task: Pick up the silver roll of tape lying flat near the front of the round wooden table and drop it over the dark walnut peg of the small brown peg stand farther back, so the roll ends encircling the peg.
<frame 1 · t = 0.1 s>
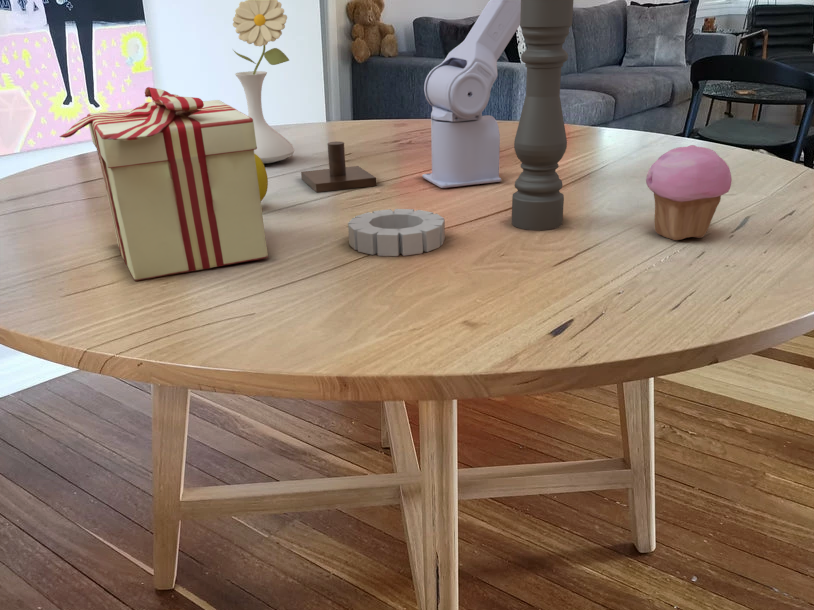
tape: (397, 241, 95), on the table
cupcake: (680, 238, 94), on the table
lemon: (250, 211, 110), on the table
brown peg stand: (338, 182, 122), on the table
candle holder: (536, 224, 100), on the table
flower in vase: (265, 163, 137), on the table
gift box: (179, 258, 92), on the table
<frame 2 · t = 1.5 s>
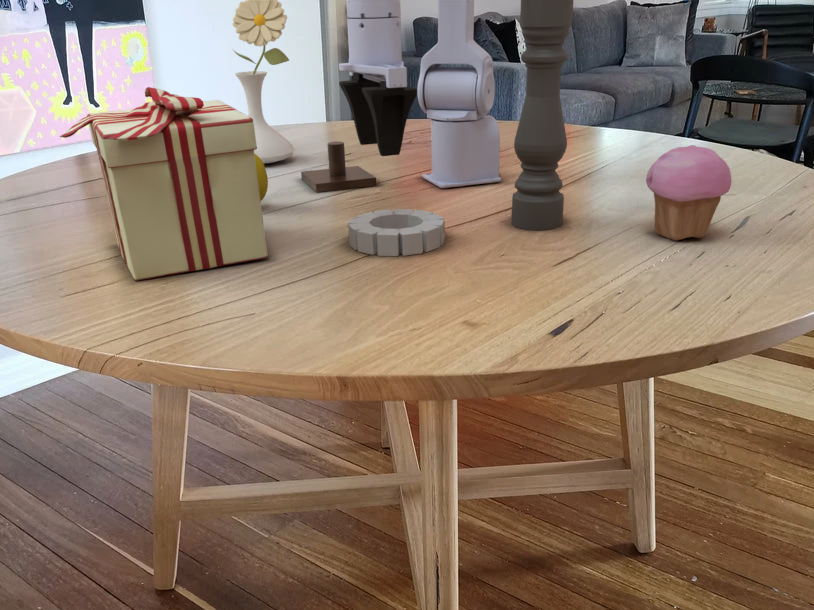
hand: (379, 149, 94), 10 cm above the table, tool pointing down, fingers open, 7 cm apart
nothing on the table moved.
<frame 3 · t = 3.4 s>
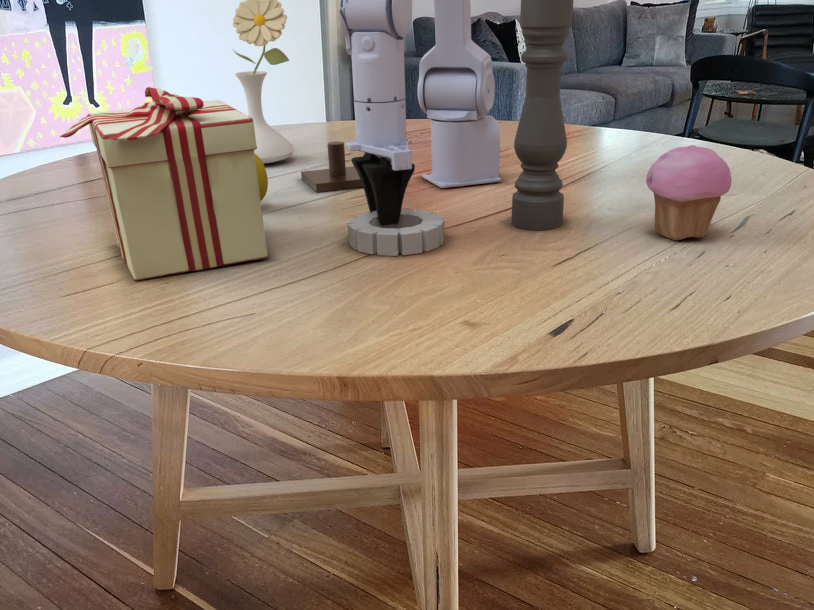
hand: (384, 220, 98), 1 cm above the table, tool pointing down, fingers closed on tape, 2 cm apart
tape: (396, 241, 95), on the table, touching gripper
everything else where it was.
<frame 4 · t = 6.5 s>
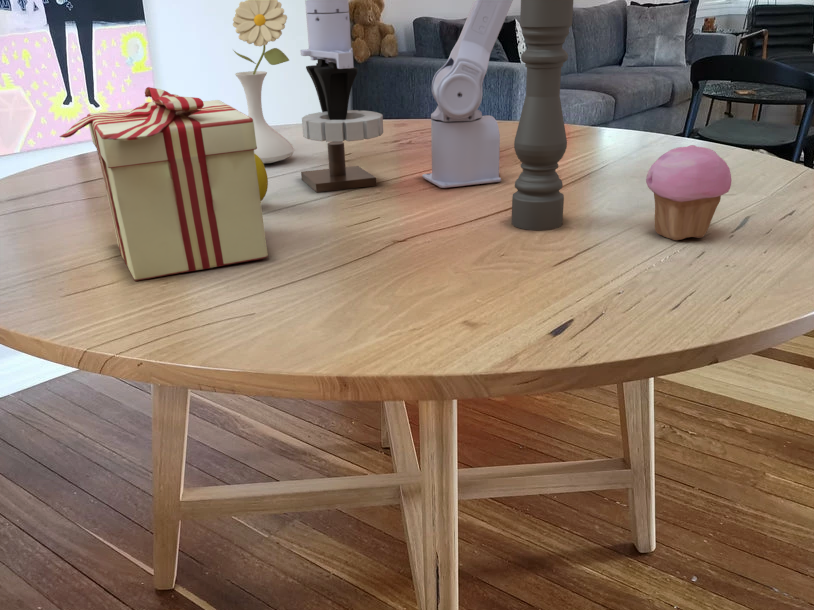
hand: (334, 119, 116), 9 cm above the table, tool pointing down, fingers closed on tape, 2 cm apart
tape: (343, 134, 113), point 8 cm above the table, touching gripper
everything else where it was.
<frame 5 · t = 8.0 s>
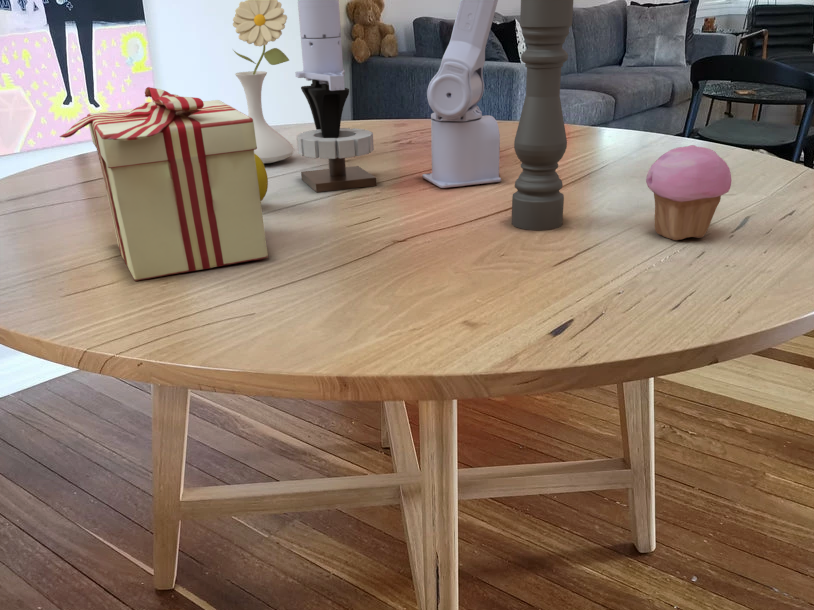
hand: (328, 136, 123), 6 cm above the table, tool pointing down, fingers closed on tape, 2 cm apart
tape: (335, 151, 120), point 5 cm above the table, touching gripper
everything else where it was.
when the fingers open (3 cm above the table, at t = 9.5 s): tape stays where it is, resting on brown peg stand.
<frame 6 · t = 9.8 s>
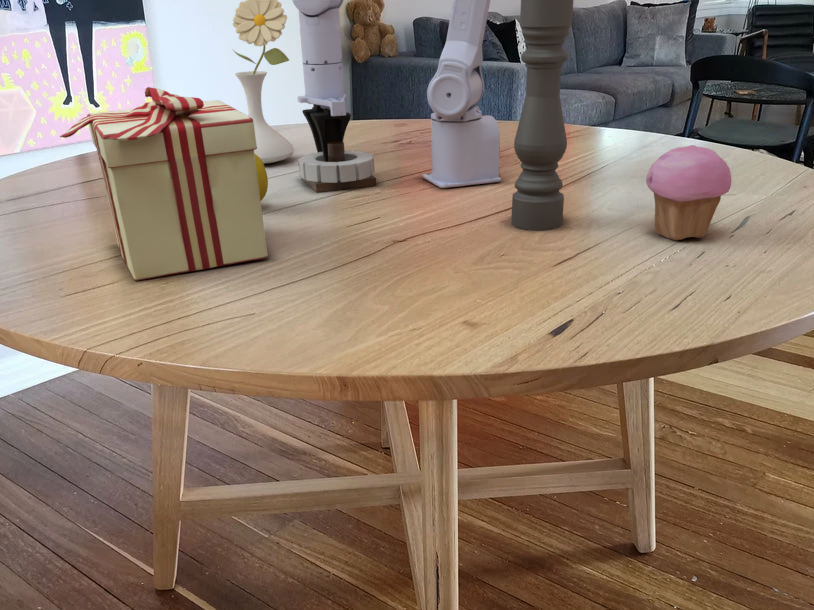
hand: (329, 159, 125), 3 cm above the table, tool pointing down, fingers open, 3 cm apart
tape: (337, 174, 122), point 1 cm above the table, touching brown peg stand
everything else where it was.
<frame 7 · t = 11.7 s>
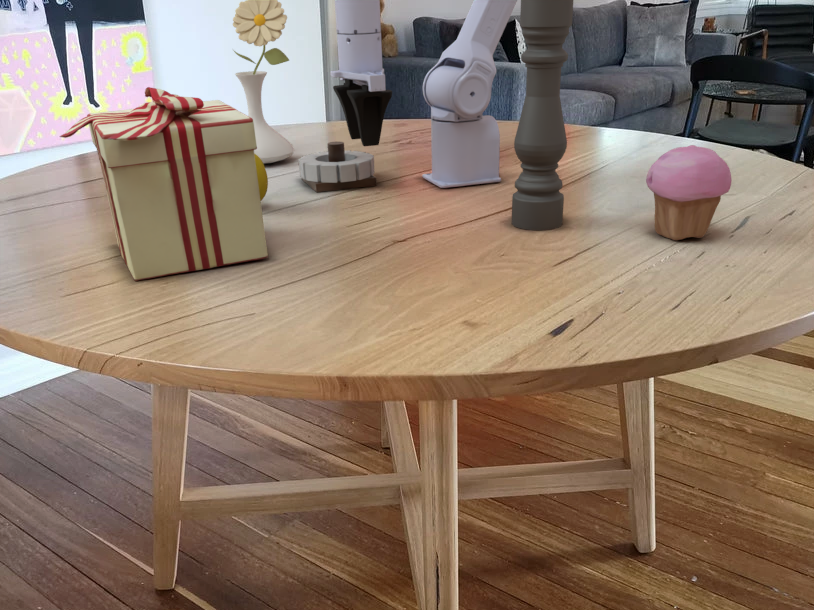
hand: (364, 141, 113), 7 cm above the table, tool pointing down, fingers open, 5 cm apart
nothing on the table moved.
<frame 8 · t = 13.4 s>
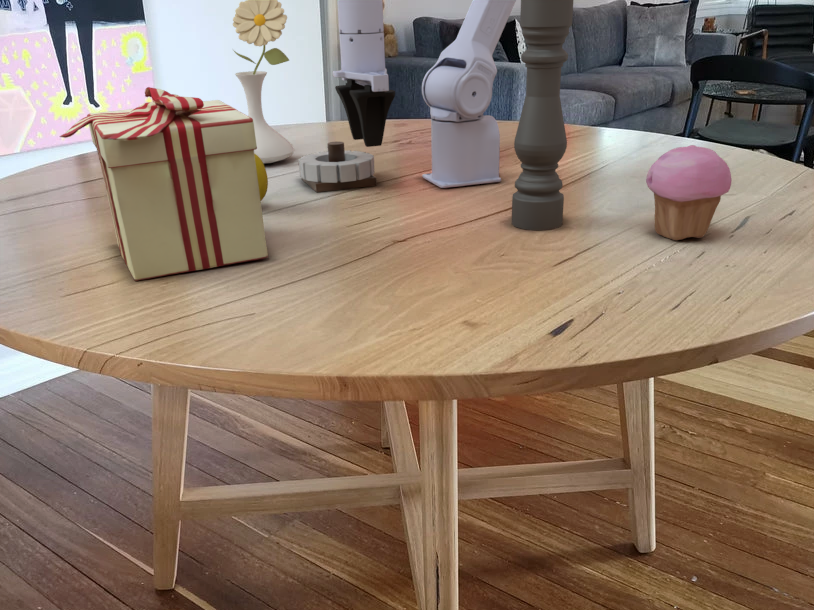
hand: (367, 142, 112), 7 cm above the table, tool pointing down, fingers open, 5 cm apart
nothing on the table moved.
at the end: tape 0.1 cm from the brown peg stand (horizontally); tape point 1.2 cm above the table; the gripper is holding nothing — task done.
